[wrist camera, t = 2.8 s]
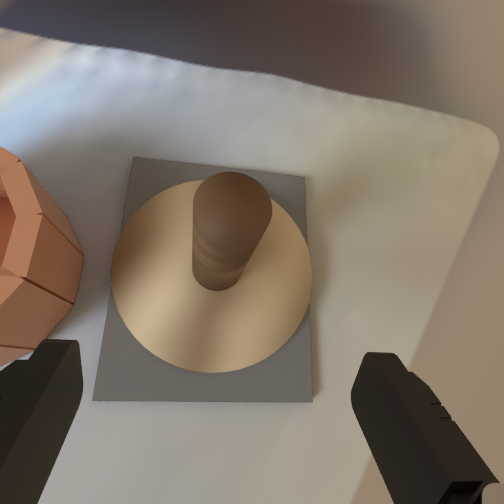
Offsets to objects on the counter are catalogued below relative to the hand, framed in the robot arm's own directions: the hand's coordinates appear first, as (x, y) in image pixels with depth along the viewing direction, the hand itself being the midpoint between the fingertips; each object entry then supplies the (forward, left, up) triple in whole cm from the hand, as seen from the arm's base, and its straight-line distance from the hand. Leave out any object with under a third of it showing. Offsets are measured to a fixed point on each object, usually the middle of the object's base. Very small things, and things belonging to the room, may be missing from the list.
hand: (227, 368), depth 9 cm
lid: (0, +6, -10) cm, 11 cm away
